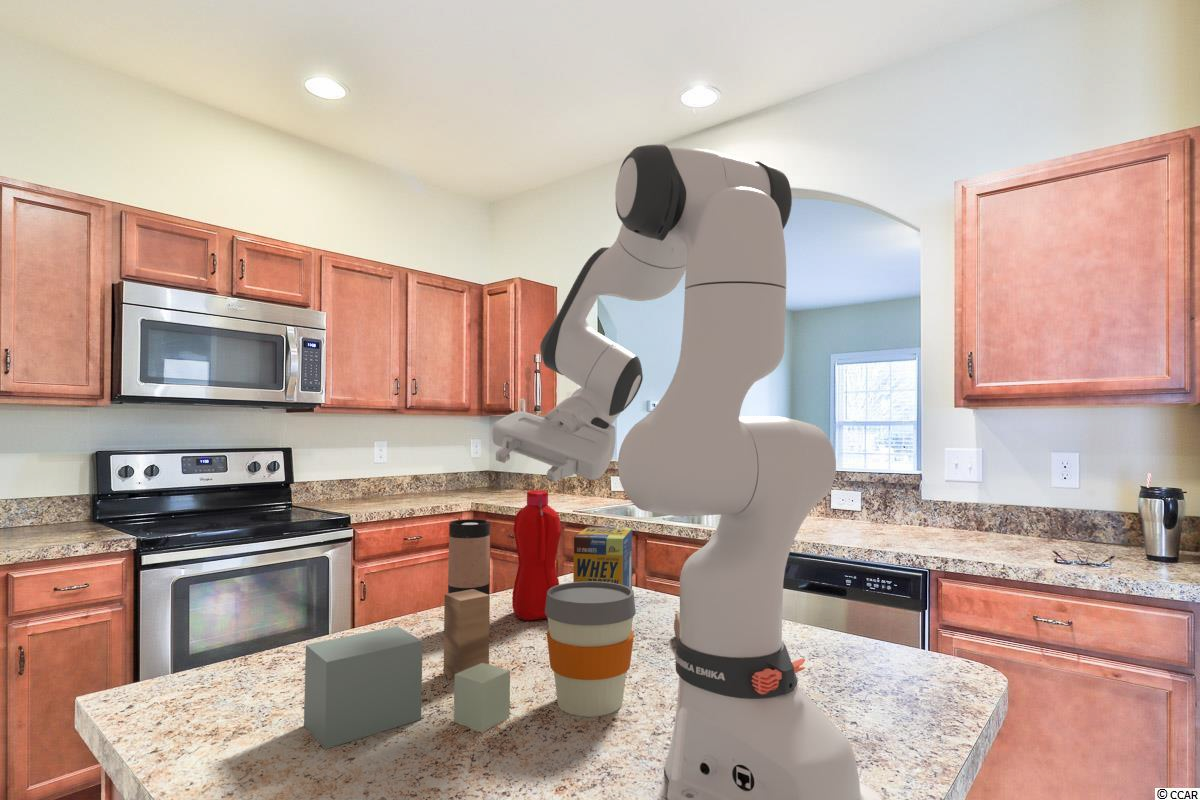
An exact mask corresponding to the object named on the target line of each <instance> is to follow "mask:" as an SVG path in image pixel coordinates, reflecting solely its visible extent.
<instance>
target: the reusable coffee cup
mask: <svg viewBox="0 0 1200 800" xmlns="http://www.w3.org/2000/svg"><path fill="white" fill-rule="evenodd" d="M636 612H637V611H636V601H635V594H634V590H633V588H632V589H631V588H629V587H627V586H624V585H621V584H616V583H610V582H597V581H585V582H566V583H561V584H560V583H559V585H557V586H554V587H552V588H550V589H549V590H548V591H547V597H546V606H545V615H546V616H547V617H548V619H547V623H548V630H547V632H546V641H547V648H548V649H547V650H548V659H549V665H550V666H549V667H550V669H551V670H552V672H553V674H554V683H555V693H556V701H557V706H558V708H559V709H561V710H562V711H563V712H566V713H567V714H570V715H574V716H577V717H588V718H589V717H591V718H592V717H601V716H606V715H610V714H613V713H615V712H617V711H618V710H620V709H621V708H622V705H623V704H624V703H623V702H624V693H625V685H626V678H627V677H626V676H627V671H629V670H630V667H631V663H632V662H631V660H632V652H633V647H634V646H633V645H634V637H635V633H634V631H633V629H632V627H633V621H634V616H635V615H636Z"/></svg>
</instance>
